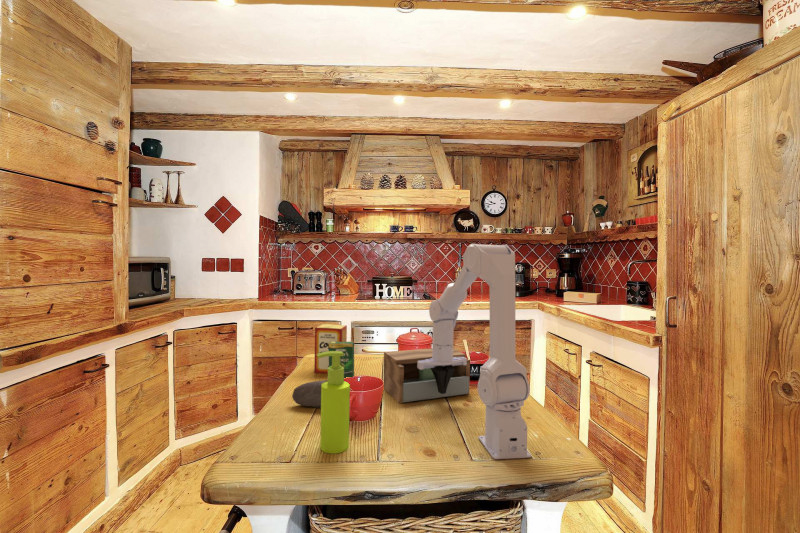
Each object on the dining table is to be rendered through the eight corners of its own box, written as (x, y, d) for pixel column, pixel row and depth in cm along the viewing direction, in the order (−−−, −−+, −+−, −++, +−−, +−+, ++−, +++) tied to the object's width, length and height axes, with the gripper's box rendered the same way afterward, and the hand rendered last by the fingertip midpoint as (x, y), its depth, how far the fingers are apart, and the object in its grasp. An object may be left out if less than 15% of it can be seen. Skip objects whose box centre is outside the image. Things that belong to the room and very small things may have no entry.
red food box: (346, 368, 138) (346, 324, 138) (341, 374, 132) (341, 327, 132) (320, 367, 140) (321, 323, 139) (314, 372, 133) (315, 326, 133)
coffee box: (327, 384, 121) (328, 342, 121) (329, 381, 124) (330, 340, 124) (352, 385, 121) (353, 343, 120) (354, 382, 124) (355, 341, 123)
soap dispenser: (313, 443, 82) (314, 349, 82) (345, 438, 85) (346, 347, 84) (317, 456, 77) (319, 356, 76) (351, 451, 79) (353, 354, 79)
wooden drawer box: (469, 393, 115) (470, 356, 115) (399, 403, 106) (400, 362, 106) (447, 380, 127) (448, 347, 126) (383, 388, 118) (383, 352, 118)
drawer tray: (468, 393, 113) (469, 376, 113) (403, 402, 106) (404, 384, 105) (449, 382, 124) (450, 366, 124) (389, 389, 116) (389, 372, 116)
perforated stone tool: (289, 409, 101) (289, 383, 100) (295, 402, 106) (295, 376, 106) (346, 411, 100) (346, 384, 100) (349, 403, 105) (350, 378, 105)
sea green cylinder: (434, 390, 112) (435, 366, 112) (418, 389, 113) (418, 365, 113) (434, 385, 117) (435, 362, 117) (419, 384, 118) (419, 361, 118)
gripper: (457, 339, 113) (457, 385, 114) (413, 342, 108) (412, 390, 108) (471, 344, 107) (470, 393, 107) (424, 348, 101) (423, 399, 101)
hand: (441, 392), depth 107 cm, fingers closed
